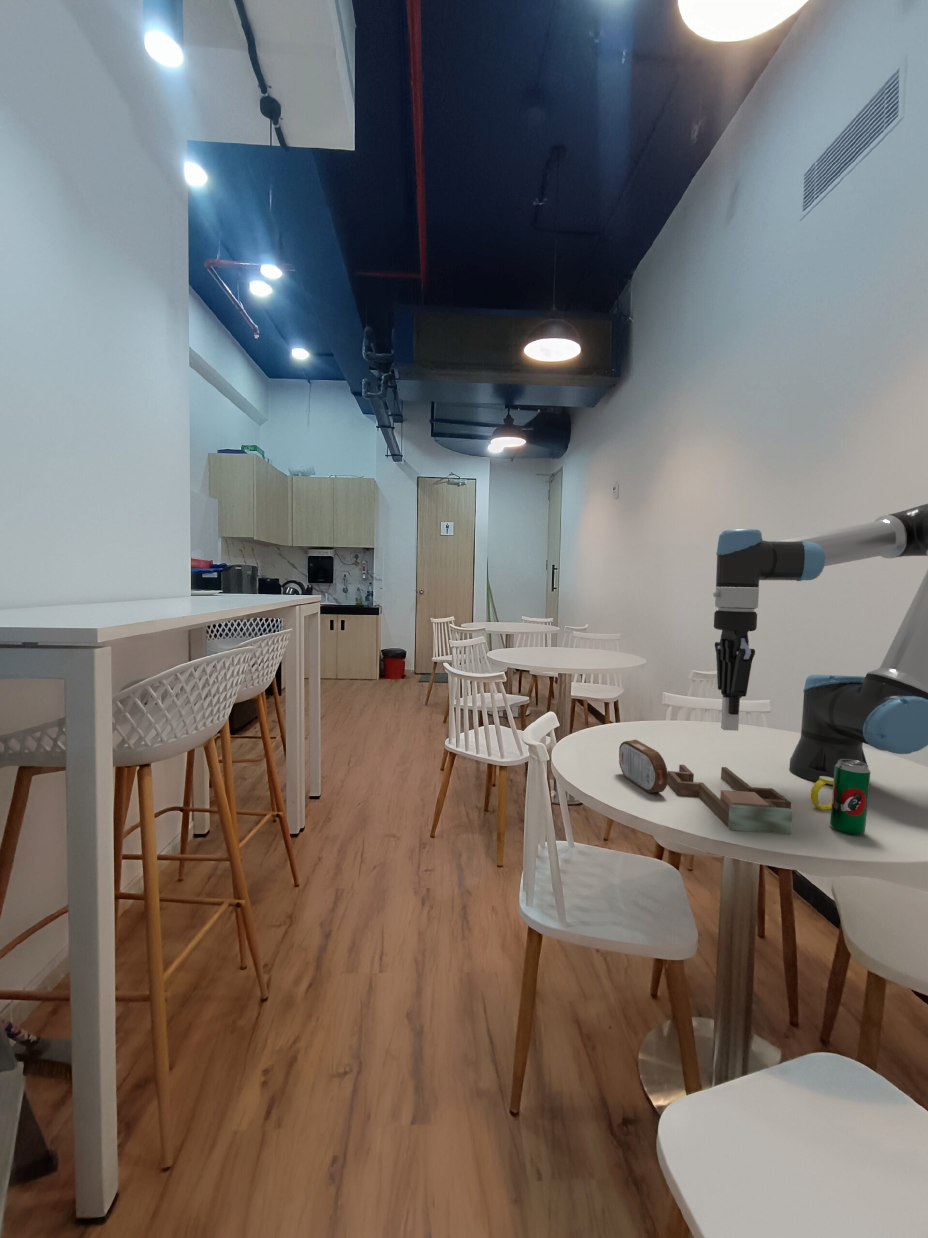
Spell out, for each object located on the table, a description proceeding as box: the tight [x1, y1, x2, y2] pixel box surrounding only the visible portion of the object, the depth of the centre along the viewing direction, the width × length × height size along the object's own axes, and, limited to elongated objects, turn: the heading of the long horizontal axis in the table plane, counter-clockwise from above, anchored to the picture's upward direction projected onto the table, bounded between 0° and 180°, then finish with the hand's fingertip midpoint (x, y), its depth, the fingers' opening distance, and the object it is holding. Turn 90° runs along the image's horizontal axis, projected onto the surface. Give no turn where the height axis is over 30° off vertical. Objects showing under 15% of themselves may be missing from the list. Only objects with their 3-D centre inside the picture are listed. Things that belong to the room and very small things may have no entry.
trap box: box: [667, 764, 794, 835], centre depth 108 cm, size 18×27×4 cm, turn 177°
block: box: [719, 789, 769, 807], centre depth 100 cm, size 6×6×4 cm
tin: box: [618, 739, 668, 794], centre depth 115 cm, size 15×3×8 cm, turn 13°
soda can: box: [829, 759, 871, 837], centre depth 96 cm, size 5×5×12 cm
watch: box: [810, 776, 834, 811], centre depth 106 cm, size 6×3×6 cm, turn 104°
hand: (729, 729), depth 110 cm, fingers closed
